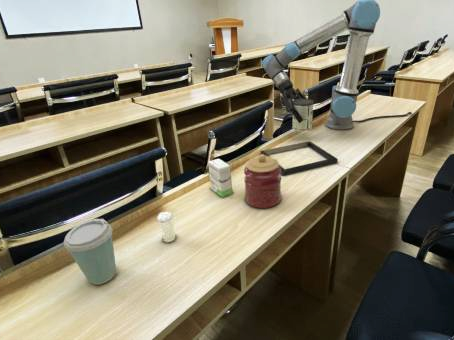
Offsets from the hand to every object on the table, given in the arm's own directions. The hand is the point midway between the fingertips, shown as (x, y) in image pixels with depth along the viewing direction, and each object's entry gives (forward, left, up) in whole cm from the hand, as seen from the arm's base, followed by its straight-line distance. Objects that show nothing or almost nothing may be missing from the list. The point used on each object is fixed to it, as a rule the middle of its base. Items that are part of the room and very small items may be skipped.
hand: (307, 119), depth 155 cm
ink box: (+55, +29, -12) cm, 64 cm away
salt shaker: (+78, +49, -12) cm, 93 cm away
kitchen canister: (+43, +41, -12) cm, 61 cm away
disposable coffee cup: (+96, +56, -12) cm, 112 cm away
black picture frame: (+15, +17, -12) cm, 26 cm away
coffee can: (+1, -3, -6) cm, 6 cm away
